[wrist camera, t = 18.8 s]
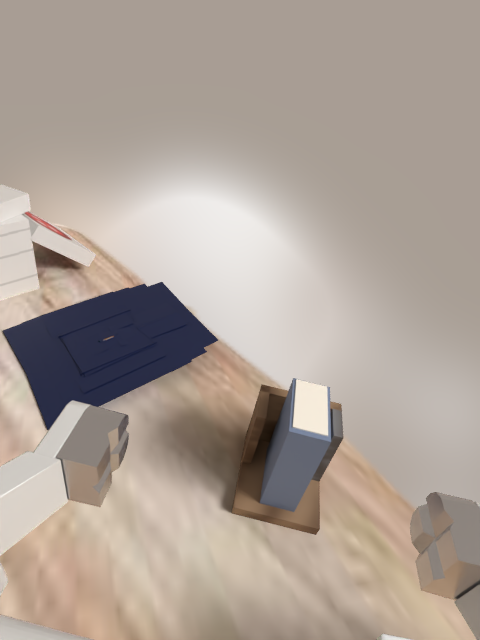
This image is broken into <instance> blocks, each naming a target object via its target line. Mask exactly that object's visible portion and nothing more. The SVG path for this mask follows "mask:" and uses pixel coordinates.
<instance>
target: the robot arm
mask: <svg viewBox="0 0 480 640" xmlns="http://www.w3.org/2000/svg"><path fill="white" fill-rule="evenodd" d="M128 423H129V422H128V415H126V414H122V413H118V412H115V411H111V410H107V409H103V408H100V407H96V406H92V405H89V404H85V403H81V402H77V401H73V400H72V401H71V402H69V403H68V404H67V405H66V406H65V408H64V409H63V410H62V412H61V413H60V415H59V416H58V418H57V419H56V421H55V422H54V423H53V425H52V426H51V428H50V429H49V431H48V432H47V433H46V435H45V436H44V438H43V439H42V441H41V442H40V443H39V445H38V446H37V448H36V449H35V451H34V452H30V451H27V452H25V453H23V454H22V455H20V456H18V457H16V458H14V459H13V460H11V461H9V462H7V463H5V464H4V465H2V466H0V556H1V555H2V554H3V553H4V552H6V551H7V550H8V549H9V548H11V547H12V546H13V545H14V544H16V543H17V542H18V541H19V540H21V539H22V538H23V537H24V536H26V535H27V534H28V533H29V532H31V531H32V530H33V529H34V528H36V527H37V526H38V525H39V524H41V523H42V522H43V521H45V520H46V519H47V518H48V517H50V516H51V515H52V514H53V513H55V512H56V511H57V510H58V509H60V508H61V507H62V506H63V505H65V504H66V503H67V502H68V500H72V501H76V502H80V503H85V504H89V505H94V506H98V507H101V505H102V503H103V500H104V498H105V496H106V494H107V492H108V490H109V488H110V486H111V484H112V475H111V473H112V472H113V471H115V470H116V469H118V468H119V467H120V464H121V462H122V460H123V458H124V455H125V452H126V448H127V444H128V434H129V433H128V432H127V431H126V430H125V429H126V427H127V425H128ZM426 501H427V504H426V505H423V506H419V507H418V508H417V509H416V510H415V511H414V513H413V515H412V519H411V523H410V533H411V539H412V543H413V545H414V546H415V548H416V549H417V550H418V552H419V553H420V554H419V556H418V558H417V560H416V566H417V572H418V577H419V582H420V587H421V590H422V591H425V592H428V593H432V594H435V595H439V596H442V597H446V598H449V599H453V600H456V601H455V604H456V606H457V607H458V609H459V611H460V612H461V614H462V616H463V617H464V619H465V621H466V622H467V624H468V626H469V627H470V629H471V631H472V632H473V634H474V635H475V637H476V639H477V640H480V503H477V502H473V501H472V500H467V499H463V498H459V497H454V496H450V495H445V494H442V493H437V492H434V493H430V494H429V496H428V497H427V498H426ZM7 583H8V578H7V574H6V572H5V570H4V568H3V566H2V564H1V562H0V595H1V594H2V592H3V590H4V588H5V586H6V585H7ZM0 640H94V639H90V638H86V637H82V636H79V635H75V634H71V633H68V632H64V631H60V630H56V629H53V628H49V627H45V626H42V625H38V624H34V623H30V622H27V621H23V620H19V619H16V618H12V617H8V616H5V615H1V614H0Z"/></svg>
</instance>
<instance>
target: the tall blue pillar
mask: <svg viewBox="0 0 480 640" xmlns="http://www.w3.org/2000/svg"><path fill="white" fill-rule="evenodd" d="M330 443H331V417H330V387H326V386H323V385H319V384H315V383H311V382H307V381H303V380H299V379H295V378H293V381H292V384H291V386H290V389H289V391H288V394H287V397H286V399H285V402H284V405H283V408H282V410H281V413H280V416H279V418H278V421H277V424H276V427H275V429H274V432H273V435H272V437H271V440H270V443H269V445H268V448H267V452H266V459H265V467H264V475H263V482H262V490H261V497H260V503H261V504H265V505H269V506H272V507H276V508H280V509H284V510H288V511H292V512H294V511H295V509H296V508H297V506H298V504H299V502H300V500H301V498H302V496H303V494H304V492H305V491H306V489H307V487H308V485H309V483H310V481H311V479H312V477H313V475H314V474H315V472H316V470H317V468H318V466H319V464H320V462H321V460H322V458H323V457H324V455H325V453H326V451H327V449H328V447H329V445H330Z"/></svg>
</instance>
